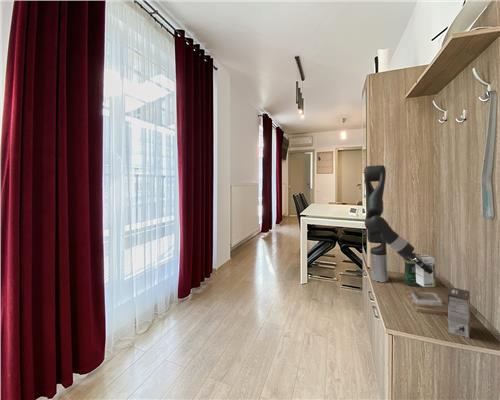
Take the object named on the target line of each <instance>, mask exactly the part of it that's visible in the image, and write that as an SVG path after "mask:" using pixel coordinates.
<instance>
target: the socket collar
mask: <svg viewBox="0 0 500 400" xmlns="http://www.w3.org/2000/svg"><path fill="white" fill-rule="evenodd" d="M411 291H412V298H413V300H414V301H415V303H416V305H417V306H423V307H432V308H442V302H441V300H440V299H439V298H438V297H437V296H436V294H437V293H435V292H427V291H426V292H425V291H414V290H411ZM418 298H421V299H418ZM422 299H432V300H434V301H432V300H422Z"/></svg>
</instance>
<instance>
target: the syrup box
mask: <svg viewBox="0 0 500 400" xmlns="http://www.w3.org/2000/svg"><path fill="white" fill-rule="evenodd" d="M418 256H419V258H420V259H422V260H423V263H425V264H426V265H427V266H428V267H429V268H430V269H431V270H432V271H433V272H432V273H431V274H429V273H427V272H426V271H425V270H424V269H422V268H421V267H420V266H419V265H416V283H418V284H419V285H421V286H420V287H423V288H426V287H427V288H428V287H436V261H435V260H436V259H435V257H434V256H431V255H429V254H420V255H418ZM423 263H422V264H420V265H421V266H422V265H424V264H423Z"/></svg>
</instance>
